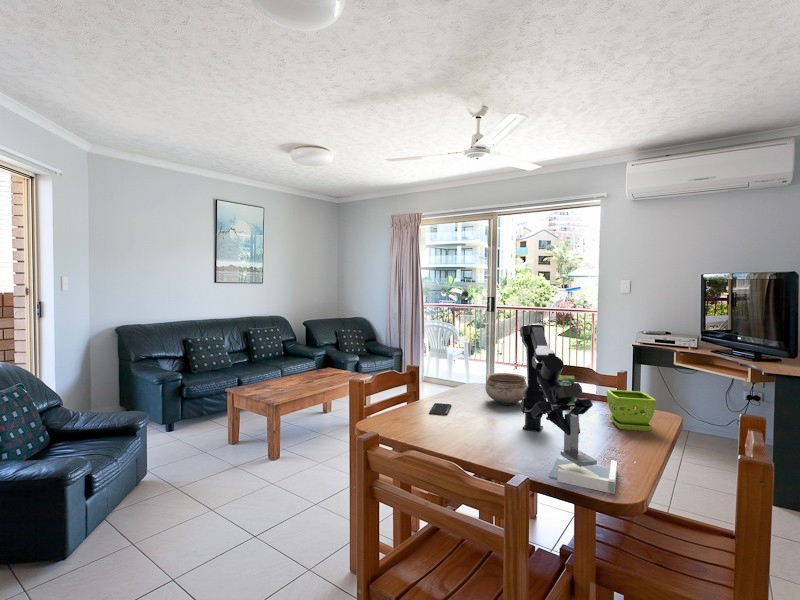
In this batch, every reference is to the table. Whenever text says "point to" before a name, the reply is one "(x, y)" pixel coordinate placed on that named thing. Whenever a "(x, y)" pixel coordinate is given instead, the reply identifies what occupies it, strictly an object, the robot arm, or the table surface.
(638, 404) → the flower pot
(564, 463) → the mat
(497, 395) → the cooking pot
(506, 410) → the table surface
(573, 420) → the bracket
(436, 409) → the phone
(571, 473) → the walls
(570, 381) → the coffee box
